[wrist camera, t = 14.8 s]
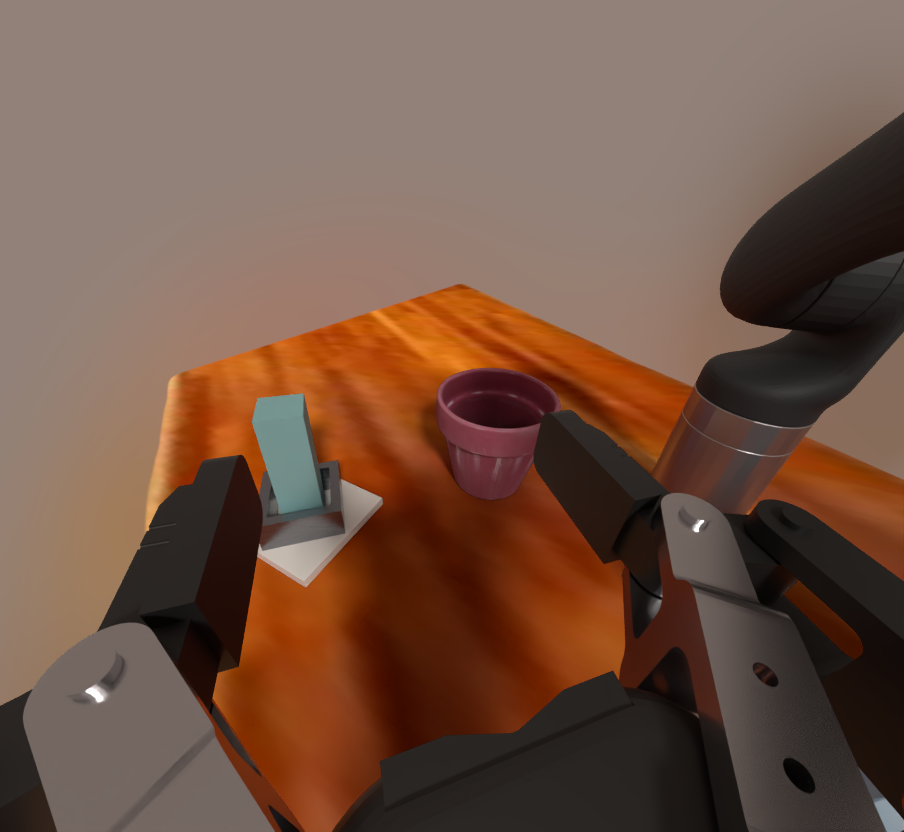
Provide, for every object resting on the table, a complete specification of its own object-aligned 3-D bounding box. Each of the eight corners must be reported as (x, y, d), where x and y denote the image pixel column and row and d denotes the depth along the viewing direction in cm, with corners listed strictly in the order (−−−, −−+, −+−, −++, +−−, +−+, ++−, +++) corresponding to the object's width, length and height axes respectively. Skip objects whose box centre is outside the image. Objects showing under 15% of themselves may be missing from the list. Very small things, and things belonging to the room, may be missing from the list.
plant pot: (476, 536, 39) (489, 446, 32) (414, 464, 48) (414, 382, 41) (562, 488, 46) (588, 405, 39) (493, 433, 55) (504, 359, 48)
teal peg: (288, 503, 40) (257, 398, 32) (325, 496, 41) (303, 393, 34) (286, 530, 37) (251, 421, 29) (326, 522, 38) (303, 415, 30)
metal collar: (270, 493, 41) (263, 471, 39) (341, 481, 43) (337, 460, 41) (262, 551, 35) (253, 527, 33) (345, 533, 37) (341, 510, 35)
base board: (309, 469, 46) (307, 463, 46) (382, 503, 42) (382, 498, 41) (222, 535, 37) (220, 529, 37) (305, 587, 33) (303, 581, 32)
